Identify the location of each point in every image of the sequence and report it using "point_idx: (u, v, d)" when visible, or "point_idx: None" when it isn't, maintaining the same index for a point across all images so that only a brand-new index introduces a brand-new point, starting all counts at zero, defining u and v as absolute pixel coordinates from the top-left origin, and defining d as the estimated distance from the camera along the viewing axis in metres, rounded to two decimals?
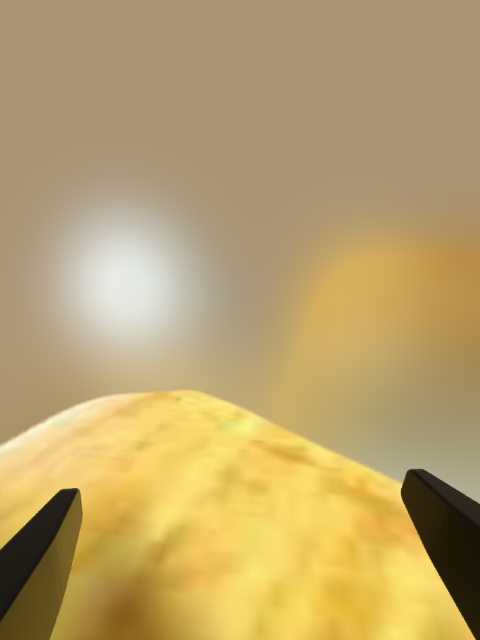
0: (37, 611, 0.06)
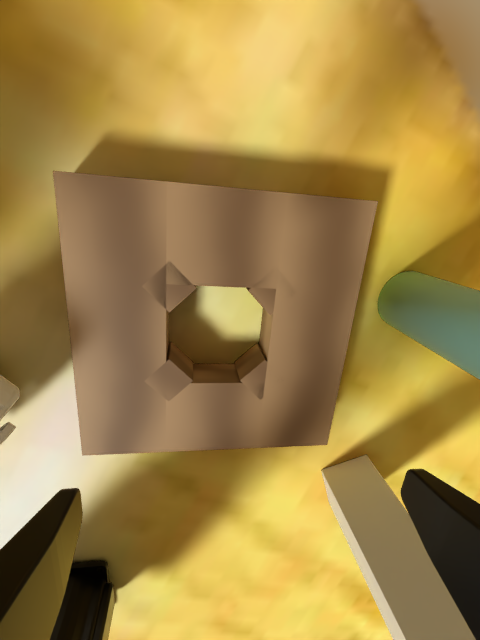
0: (37, 611, 0.06)
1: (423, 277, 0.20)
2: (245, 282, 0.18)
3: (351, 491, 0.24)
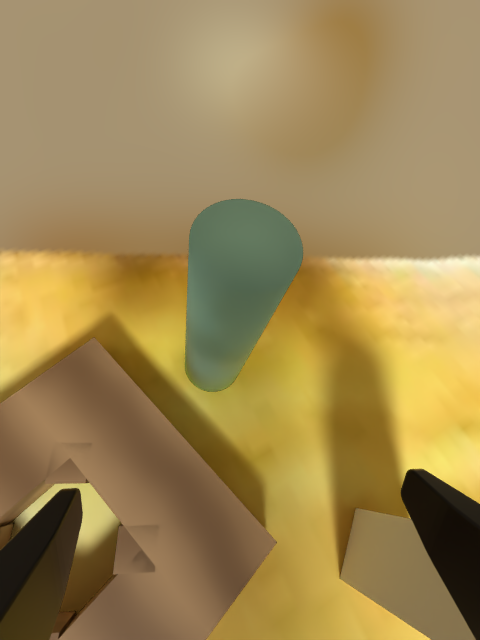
0: (37, 611, 0.06)
1: None
2: (36, 480, 0.17)
3: (367, 564, 0.17)
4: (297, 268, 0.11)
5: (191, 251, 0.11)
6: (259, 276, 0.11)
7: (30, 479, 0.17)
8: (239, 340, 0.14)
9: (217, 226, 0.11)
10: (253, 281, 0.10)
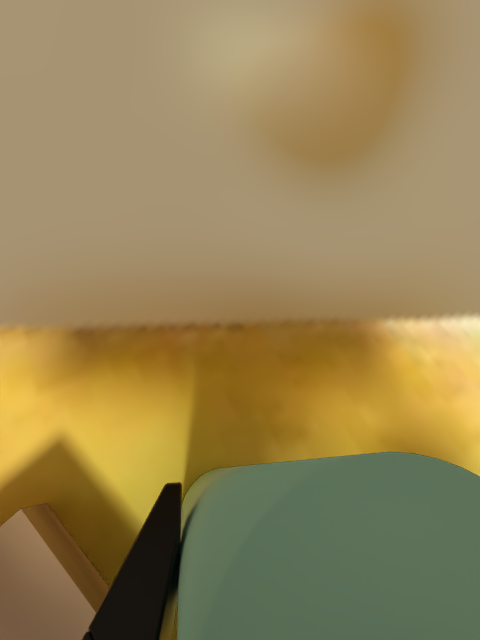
0: (173, 596, 0.06)
1: (188, 493, 0.13)
2: None
3: None
4: None
5: None
6: None
7: None
8: None
9: None
10: None
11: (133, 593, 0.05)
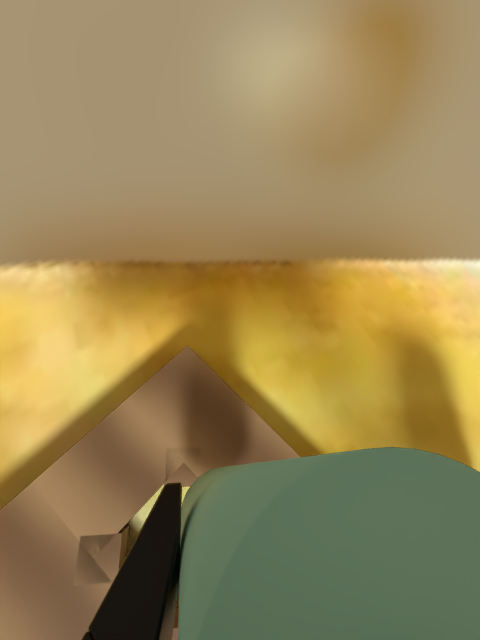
0: (173, 596, 0.06)
1: (188, 492, 0.13)
2: (156, 484, 0.18)
3: None
4: None
5: None
6: None
7: (150, 483, 0.18)
8: None
9: None
10: None
11: (133, 593, 0.05)
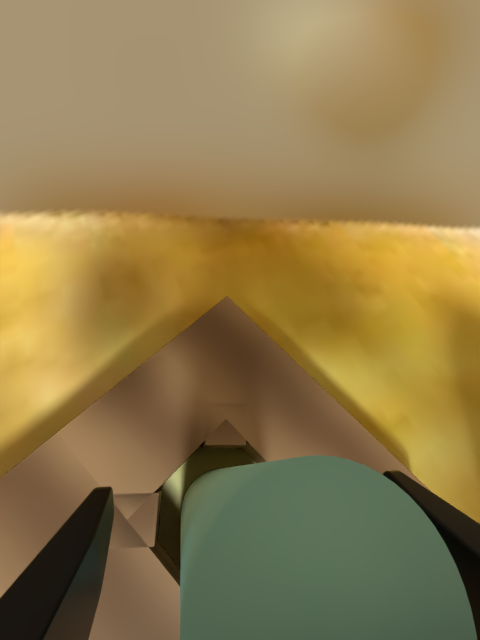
0: (81, 606, 0.06)
1: (188, 491, 0.15)
2: (196, 440, 0.16)
3: None
4: None
5: None
6: None
7: (190, 440, 0.15)
8: None
9: (255, 571, 0.04)
10: None
11: (24, 605, 0.05)
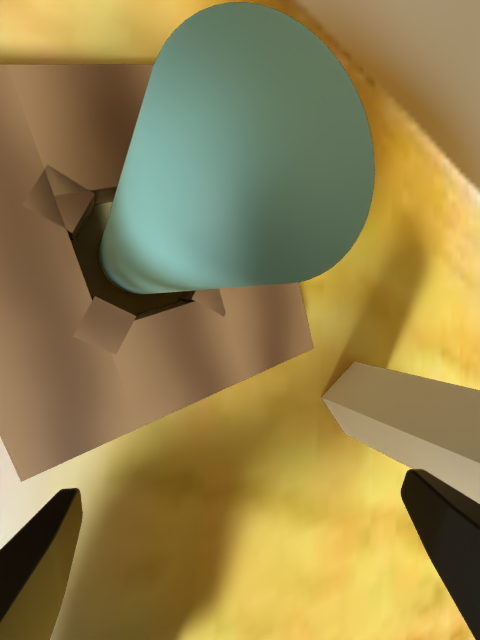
0: (37, 611, 0.06)
1: None
2: None
3: (359, 394, 0.22)
4: (332, 262, 0.05)
5: (148, 90, 0.04)
6: (261, 240, 0.05)
7: None
8: (173, 286, 0.09)
9: (241, 66, 0.05)
10: (244, 246, 0.05)
11: None
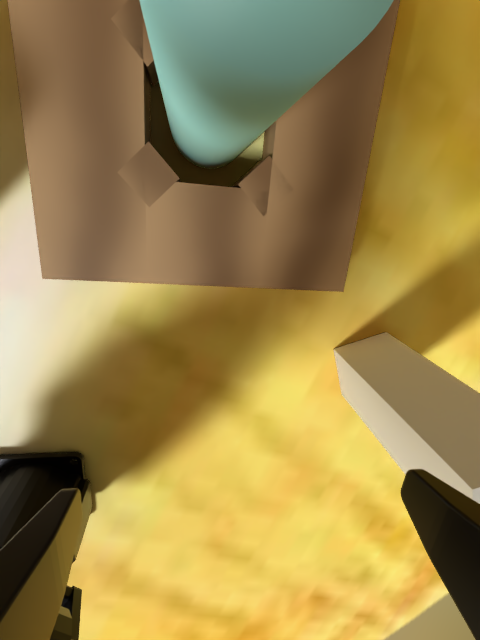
0: (37, 611, 0.06)
1: None
2: None
3: (370, 360, 0.20)
4: (299, 70, 0.05)
5: None
6: None
7: None
8: (185, 113, 0.08)
9: None
10: None
11: None
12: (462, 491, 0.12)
